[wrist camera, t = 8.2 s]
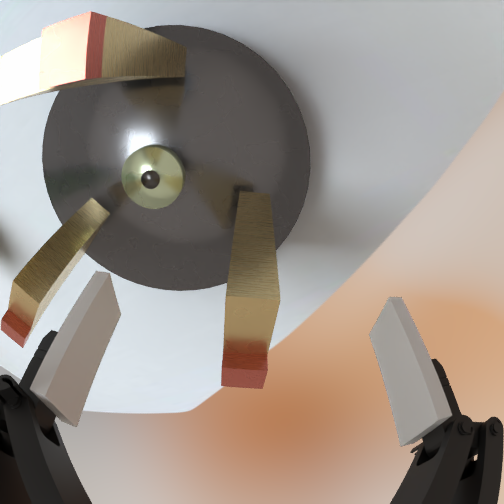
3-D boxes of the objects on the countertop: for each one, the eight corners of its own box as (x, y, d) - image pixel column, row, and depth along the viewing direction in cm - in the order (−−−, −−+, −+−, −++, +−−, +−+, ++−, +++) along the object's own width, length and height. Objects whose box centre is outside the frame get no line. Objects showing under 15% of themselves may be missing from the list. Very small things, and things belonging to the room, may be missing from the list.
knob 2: (91, 197, 17) (4, 291, 9) (110, 213, 17) (31, 316, 9) (69, 239, 19) (0, 329, 10) (85, 252, 19) (22, 347, 11)
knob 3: (239, 190, 17) (223, 313, 8) (269, 193, 17) (282, 317, 9) (234, 256, 19) (221, 385, 11) (260, 258, 19) (262, 388, 11)
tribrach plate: (54, 53, 12) (29, 55, 10) (323, 41, 13) (335, 34, 11) (79, 262, 23) (65, 282, 20) (281, 284, 24) (284, 308, 21)
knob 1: (108, 83, 12) (-22, 113, 4) (109, 55, 11) (-21, 62, 3) (184, 77, 13) (85, 78, 5) (186, 47, 12) (91, 11, 4)
